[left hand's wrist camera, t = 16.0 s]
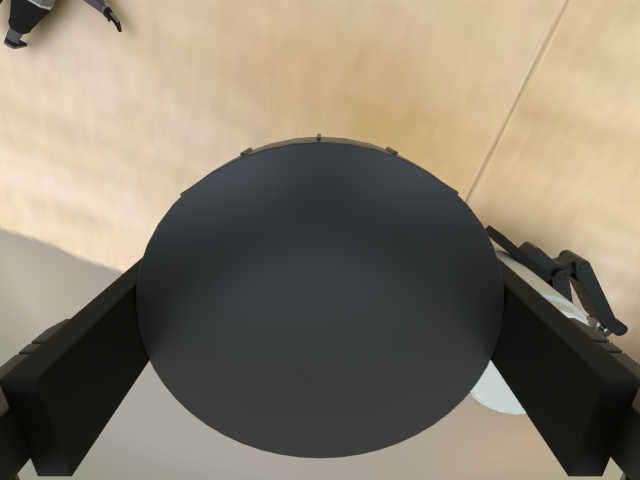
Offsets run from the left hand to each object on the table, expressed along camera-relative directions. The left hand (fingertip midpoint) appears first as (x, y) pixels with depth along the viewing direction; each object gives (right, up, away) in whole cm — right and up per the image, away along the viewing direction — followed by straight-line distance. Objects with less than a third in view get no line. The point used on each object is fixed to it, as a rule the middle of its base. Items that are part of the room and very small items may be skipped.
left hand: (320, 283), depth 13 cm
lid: (0, -1, -2) cm, 3 cm away
